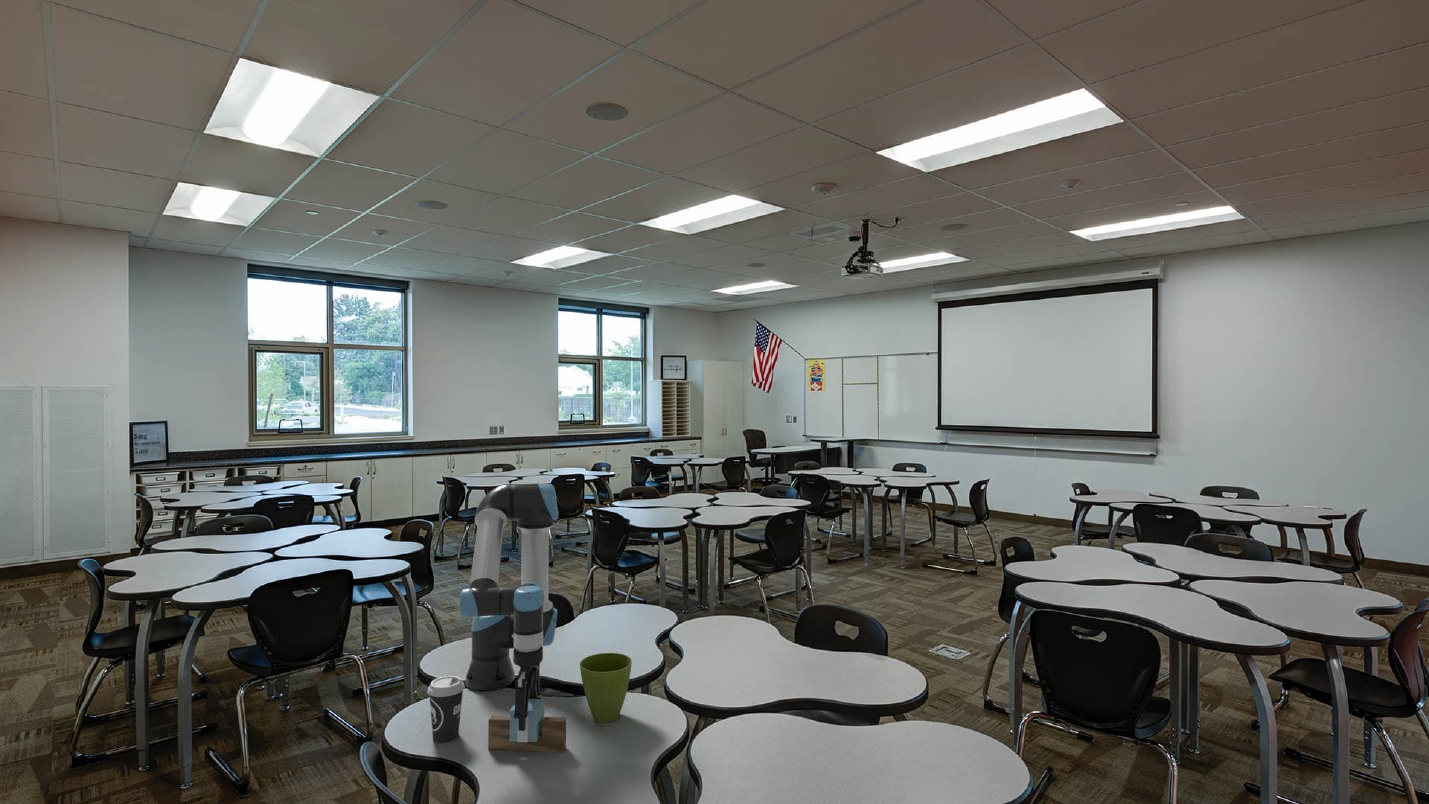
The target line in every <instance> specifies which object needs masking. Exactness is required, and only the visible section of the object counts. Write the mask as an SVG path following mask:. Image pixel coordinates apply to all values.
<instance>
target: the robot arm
mask: <svg viewBox="0 0 1429 804" xmlns="http://www.w3.org/2000/svg"><path fill="white" fill-rule="evenodd" d="M474 516H475V517H474V523H475V525H476V526H477V527H476V533H475V534H476V535H475V541H474V542H475V544H474V551H473V559H472V564H471V565H472V566H471V567H472V568H471V573H470V580H469V587H467V588H463V589H461V591H460V593H459V602H458V609H459V610H458V611H459V615H460V616H461V617H464V618H472V621H471V622H472V623H471V629H470V630H471V659H470V660H471V661H470V663H469V667H468V669H467V673H466V676H465V687H466V688H467V689H468V690H473V691H477V690H490V691H495V690H494V689H496V690H498V689H497V688H500V689H503V688H505V687H508V686H509V685H511V684H513V683H515V695H514V696H515V699H514V704H515V713H514V718H517V742H528V730H529V716H527V713H528V703H529V699H542V697H540V696H541V681H540V680H541V678H540V676H541V675H540V667H541V666H540V665H541V663H542V661H543V659H544V647H546V646H550V645H552V644H553V642H554V640H555V633H556V629H557V619H558V618H557V617H558V609H557V608H555V607H554V604H553V602H552V601H550V600H549V567H550V566H549V565H550V564H549V563H550V562H549V553H550V551H549V550H550V549H549V547H550V546H549V543H550V542H549V541H550V538H549V537H550V529H551V528H552V527H553V526H554V523H555V521H556V520H558V519H559V511H558V502H557V495H556V488H555V486H554V485H553V484H552V483H541V482H538V483H515V484H514V483H512V484H511V483H507V484H502V485H499V486H497V487H495V488H493V489H491V490H490V491H489V492H488V493H487V494H486V495H485V496H484V497H483V498H482V499H481V501H480V502H479V504H478V506H477V508H476V511H475V515H474ZM508 521H509V522H511V521H512V522H513V521H516V527H517V528H518V529H519V530H520V531H521V559H520V560H521V563H520V564H521V582H520V583H521V585H516V586H499V577H500V566H501V554H502V544H503V543H502V542H503V533H504V528H505V526H506V525H507V523H508ZM510 649H513V651H512V653H513V655H512V657H513V663H512V660H511V657H510ZM513 664H514V665H515V666H517V667H519V668H520V669H519V671H518V674H517V675H518V677H517V678H515V674H516V673H515V670H514V666H513Z"/></svg>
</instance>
